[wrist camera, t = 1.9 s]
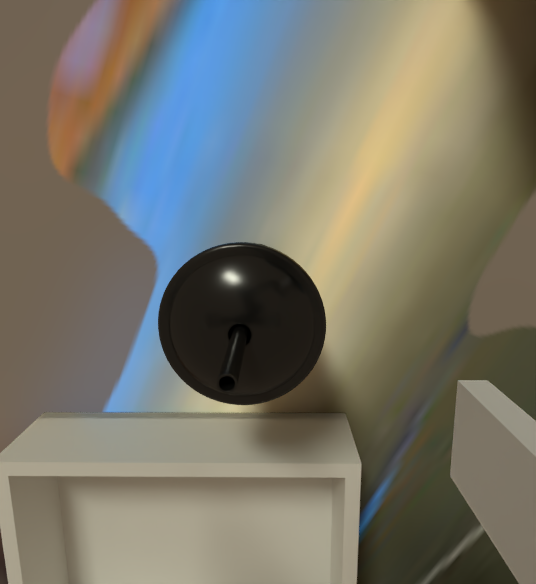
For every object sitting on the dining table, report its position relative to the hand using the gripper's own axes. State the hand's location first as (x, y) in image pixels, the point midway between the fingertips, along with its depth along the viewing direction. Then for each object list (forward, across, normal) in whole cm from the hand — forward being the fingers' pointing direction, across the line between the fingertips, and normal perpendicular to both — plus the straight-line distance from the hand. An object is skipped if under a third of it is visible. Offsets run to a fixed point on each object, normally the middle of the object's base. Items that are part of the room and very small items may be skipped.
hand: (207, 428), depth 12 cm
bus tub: (+23, -5, -20) cm, 30 cm away
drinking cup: (+23, 0, 0) cm, 23 cm away
